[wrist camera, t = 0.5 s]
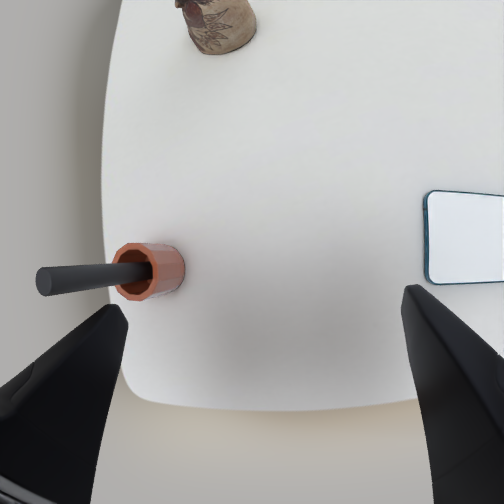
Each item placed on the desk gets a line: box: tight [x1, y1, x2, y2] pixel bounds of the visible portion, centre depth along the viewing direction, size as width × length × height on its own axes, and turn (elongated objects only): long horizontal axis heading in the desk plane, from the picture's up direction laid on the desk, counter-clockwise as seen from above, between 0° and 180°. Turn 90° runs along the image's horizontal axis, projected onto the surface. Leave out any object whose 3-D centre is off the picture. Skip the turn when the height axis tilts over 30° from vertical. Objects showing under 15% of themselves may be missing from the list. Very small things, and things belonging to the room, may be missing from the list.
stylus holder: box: [112, 243, 185, 301], centre depth 24 cm, size 4×4×5 cm
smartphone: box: [423, 190, 504, 285], centre depth 20 cm, size 8×1×16 cm
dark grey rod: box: [36, 261, 153, 296], centre depth 19 cm, size 2×2×14 cm
